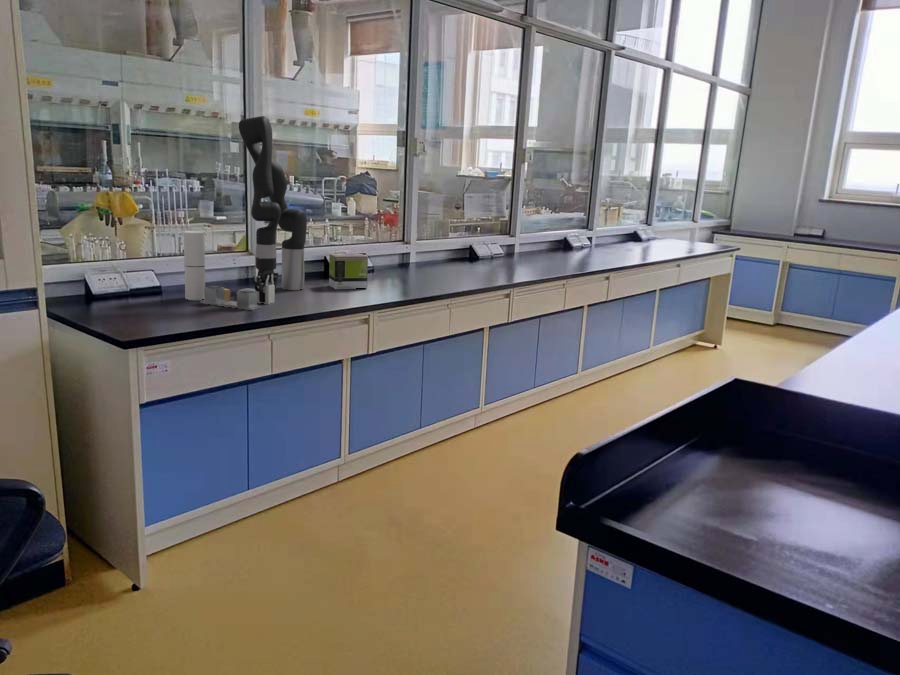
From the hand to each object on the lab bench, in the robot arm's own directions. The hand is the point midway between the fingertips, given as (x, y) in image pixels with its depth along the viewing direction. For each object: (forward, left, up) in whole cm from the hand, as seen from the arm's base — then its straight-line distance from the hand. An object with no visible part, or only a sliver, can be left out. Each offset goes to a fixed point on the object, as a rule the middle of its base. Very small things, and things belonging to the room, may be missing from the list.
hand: (265, 300), depth 261 cm
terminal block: (+4, -16, -1) cm, 17 cm away
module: (0, 0, -1) cm, 1 cm away
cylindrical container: (+9, -25, -1) cm, 27 cm away
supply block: (-4, -10, -1) cm, 11 cm away
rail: (+12, -7, -1) cm, 14 cm away
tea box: (-50, +9, -1) cm, 51 cm away
